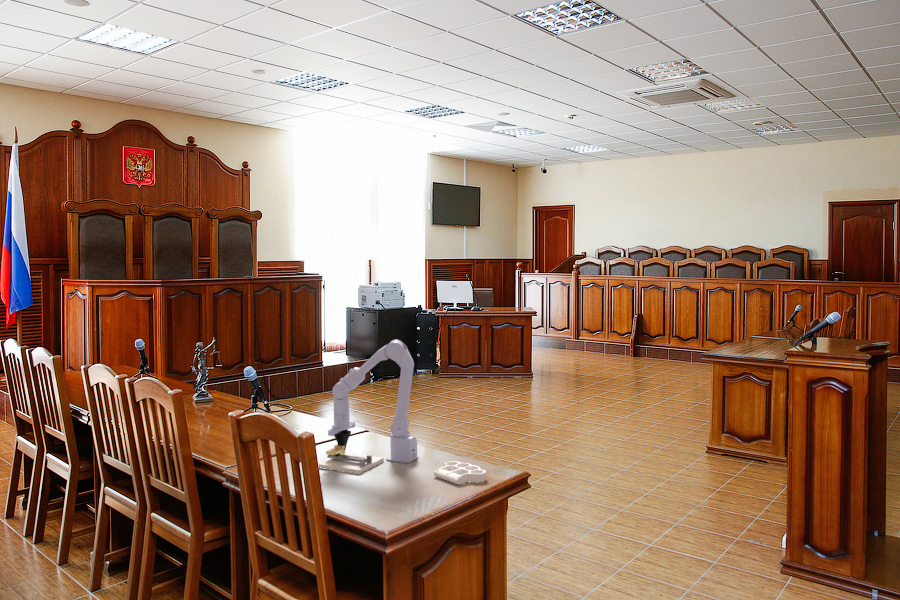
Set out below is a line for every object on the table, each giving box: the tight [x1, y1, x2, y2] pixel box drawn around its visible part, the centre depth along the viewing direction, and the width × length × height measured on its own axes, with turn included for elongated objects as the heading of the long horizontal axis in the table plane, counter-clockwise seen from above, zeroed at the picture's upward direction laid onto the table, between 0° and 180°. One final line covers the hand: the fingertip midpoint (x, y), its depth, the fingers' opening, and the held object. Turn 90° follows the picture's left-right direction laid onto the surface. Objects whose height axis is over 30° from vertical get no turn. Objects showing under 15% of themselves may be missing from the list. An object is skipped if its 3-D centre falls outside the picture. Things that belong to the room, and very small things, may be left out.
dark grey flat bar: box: [326, 454, 370, 463], centre depth 236 cm, size 16×3×1 cm, turn 64°
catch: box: [325, 443, 346, 455], centre depth 240 cm, size 4×6×4 cm, turn 154°
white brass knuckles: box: [433, 460, 487, 486], centre depth 223 cm, size 3×18×15 cm
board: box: [317, 452, 385, 475], centre depth 238 cm, size 20×16×4 cm
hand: (342, 450), depth 244 cm, fingers closed
